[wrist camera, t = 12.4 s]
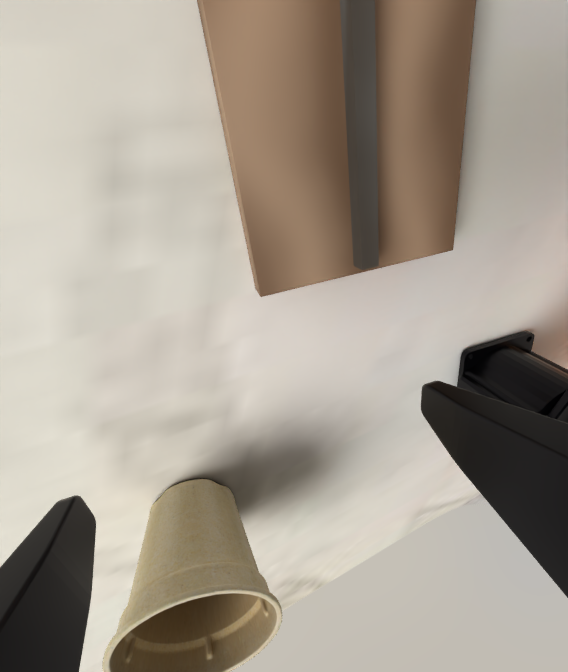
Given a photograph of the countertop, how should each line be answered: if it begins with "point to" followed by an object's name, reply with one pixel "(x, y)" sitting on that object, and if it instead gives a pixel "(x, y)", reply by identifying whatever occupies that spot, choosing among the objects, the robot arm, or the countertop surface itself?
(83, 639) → the robot arm
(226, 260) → the countertop surface
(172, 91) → the countertop surface
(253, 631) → the flower pot
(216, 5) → the track
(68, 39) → the countertop surface
